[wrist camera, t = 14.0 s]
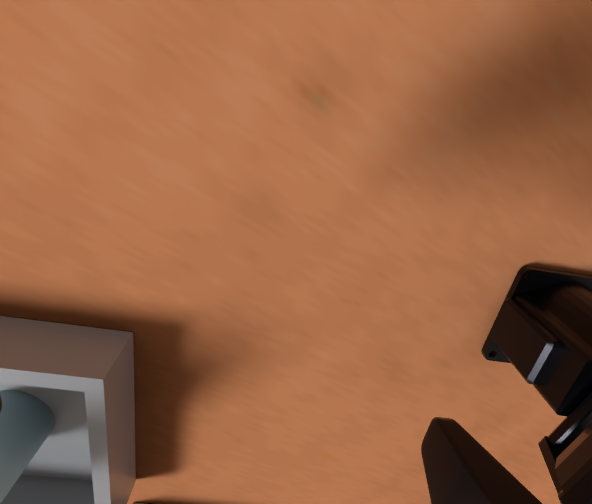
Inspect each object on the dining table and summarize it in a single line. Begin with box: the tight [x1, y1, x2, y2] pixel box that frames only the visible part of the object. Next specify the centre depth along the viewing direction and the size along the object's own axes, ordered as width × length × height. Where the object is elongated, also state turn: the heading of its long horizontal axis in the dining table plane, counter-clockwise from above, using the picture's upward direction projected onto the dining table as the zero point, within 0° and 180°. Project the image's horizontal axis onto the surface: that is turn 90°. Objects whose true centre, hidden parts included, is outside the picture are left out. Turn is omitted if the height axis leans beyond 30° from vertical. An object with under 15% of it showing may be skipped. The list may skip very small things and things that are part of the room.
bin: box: [0, 316, 136, 504], centre depth 23 cm, size 14×14×4 cm
